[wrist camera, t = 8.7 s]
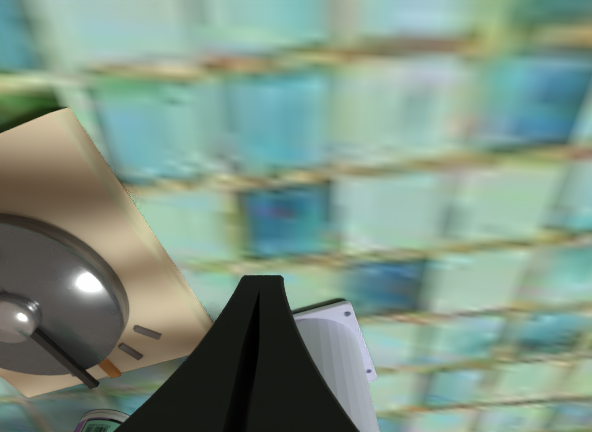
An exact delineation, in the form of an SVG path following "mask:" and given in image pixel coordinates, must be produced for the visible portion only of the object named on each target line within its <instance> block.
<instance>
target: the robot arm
mask: <svg viewBox="0 0 592 432" xmlns="http://www.w3.org/2000/svg"><path fill="white" fill-rule="evenodd" d="M347 311H348V312H347ZM345 312H347V313H345ZM376 379H377V375H376V371H375V369H374V366H373V363H372V360H371V358H370V355H369V352H368V349H367V347H366V344H365V341H364V338H363V335H362V333H361V330H360V327H359V324H358V322H357V319H356V316H355V313H354V310H353V308H352V305H351V303H350V302H348V301H342V302H338V303H334V304H330V305H327V306H323V307H319V308H316V309H312V310H308V311H305V312H301V313H297V314H293V315H292V312H291V309H290V306H289V303H288V300H287V296H286V292H285V288H284V278H283V277H282V276H281V275H244V276H243V277H242V278H241V280H240V282H239V284H238V286H237V288H236V289H235V291H234V293H233V295H232V296H231V298H230V300H229V301H228V303H227V305H226V306H225V308H224V309H223V311H222V312H221V314H220V315H219V317H218V318H217V320H216V321H215V323H214V324H213V325H212V327H211V328H210V329H209V331H208V332H207V333H206V335H205V336H204V337H203V339H202V340H201V341H200V343H199V344H198V345H197V347H196V348H195V349H194V350H193V351H192V353H191V354H190V355H189V356H188V357H187V359H186V360H185V361H184V362H183V363H182V364H181V365H180V367H179V368H178V369H177V370H176V371H175V372H174V373H173V374H172V375H171V376H170V377H169V379H168V380H167V381H166V382H165V383H164V384H163V385H162V386H161V387H160V388H159V389H158V390H157V391H156V392H155V393H154V394H153V395H152V396H151V397H150V398H149V399H148V400H147V401H146V402H145V403H144V404H143V405H142V406H141V407H139V408H138V409H137V410H136V411H135V412H134V413H133V414H132V415H131V416H130V417H128V418H127V419H126V420H125V421H124V422H123V423H122V424H121V425H120V426H118V427H117V428H116V429H115V430H114V431H113V432H380V431H379V427H378V423H377V418H376V414H375V410H374V405H373V401H372V397H371V393H370V388H369V384H368V382H372V381H375V380H376Z"/></svg>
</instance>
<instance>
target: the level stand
mask: <svg viewBox="0 0 592 432" xmlns="http://www.w3.org/2000/svg"><path fill="white" fill-rule="evenodd" d="M0 213H3V214H12V215H18V216H23V217H27V218H31V219H35V220H38V221H41V222H44V223H46V224H49V225H52V226H54V227H56V228H58V229H61V230H63V231H65V232H67V233H69V234H70V235H72V236H74V237H76V238H77V239H79V240H81V241H82V242H83V243H85V244H86V245H88V246H89V247H90V248H92V249H93V250H94V251H95V252H96V253H98V254H99V255H100V256H101V257H102V258H103V259H104V260H105V261H106V262H107V263H108V264H109V265H110V266H111V267H112V269H113V270H114V271H115V273H116V274H117V275H118V277H119V279H120V280H121V282H122V284H123V286H124V288H125V291H126V293H127V296H128V301H129V312H130V313H129V319H128V323H127V325H126V328H125V330H124V332H123V333H122V335H121V337H120V339H119V340H118V342H117V344H116V345H115V347H114V349H113V350H112V352H111V353H110V354H109V355H108V357H107V358H106V359H104V360H103V361H102V362H100V363H99V364H97V365H95V366H94V367H92V368H89V369H87V370H86V371H87V372H88V373H89V374H90V375H92V376H93V377H94V378H95V379H96V380H97V379H101V378H105V377H108V376H110V377H111V378H114V377H118V376H120V375H121V373H124V372H127V371H131V370H135V369H139V368H143V367H146V366H150V365H154V364H158V363H161V362H165V361H169V360H173V359H177V358H180V357H184V356H188V355H190V354H191V353H192V351H193V350H194V349H195V348H196V347H197V345H198V344H199V343H200V341H201V340H202V339H203V337H204V336H205V335H206V333H207V332H208V331H209V329H210V328H211V327H212V325H213V324H214V323H213V321H212V320H211V318H210V317H209V315H208V314H207V312H206V311H205V309H204V308H203V307H202V305H201V304H200V302H199V301H198V299H197V298H196V296H195V295H194V293H193V292H192V290H191V289H190V287H189V286H188V284H187V283H186V281H185V280H184V278H183V277H182V275H181V274H180V272H179V271H178V269H177V268H176V266H175V265H174V263H173V262H172V260H171V259H170V257H169V256H168V254H167V253H166V251H165V250H164V248H163V247H162V245H161V244H160V242H159V241H158V239H157V238H156V236H155V235H154V233H153V232H152V230H151V229H150V227H149V226H148V224H147V223H146V221H145V220H144V218H143V217H142V215H141V214H140V212H139V211H138V209H137V208H136V206H135V205H134V203H133V202H132V200H131V199H130V197H129V196H128V194H127V193H126V191H125V190H124V188H123V187H122V185H121V184H120V182H119V181H118V179H117V178H116V176H115V175H114V173H113V172H112V170H111V169H110V167H109V166H108V164H107V163H106V161H105V160H104V158H103V157H102V155H101V154H100V152H99V151H98V149H97V148H96V146H95V145H94V143H93V142H92V141H91V139H90V138H89V136H88V135H87V133H86V132H85V130H84V129H83V127H82V126H81V124H80V123H79V121H78V120H77V118H76V117H75V115H74V114H73V112H72V111H71V109H70V108H69V107H68V108H65V109H61V110H58V111H55V112H51V113H49V114H46V115H44V116H41V117H39V118H37V119H34V120H32V121H29V122H27V123H25V124H22V125H20V126H17V127H15V128H12V129H10V130H8V131H5V132H3V133H0ZM0 376H1V377H2V378H3V379H5V380H6V381H7V382H8V383H10V384H11V385H12V386H13V387H15V388H16V389H17V390H18V391H20V392H21V393H22V394H24V395H25V396H26V397H27V398H29V397H33V396H36V395H40V394H44V393H48V392H52V391H55V390H59V389H63V388H67V387H71V386H74V385H78V384H82V383H83V382H82V381H81V380H80V379H78V378H77V377H76V376H75V375H74V374H66V375H53V376H46V375H32V374H24V373H19V372H14V371H10V370H6V369H2V368H0Z"/></svg>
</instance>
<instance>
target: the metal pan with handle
mask: <svg viewBox="0 0 592 432" xmlns="http://www.w3.org/2000/svg"><path fill="white" fill-rule="evenodd" d="M129 313H130V312H129V301H128V296H127V293H126V291H125V288H124V286H123V284H122V282H121V280H120V279H119V277H118V275H117V274H116V273H115V271H114V270H113V269H112V267H111V266H110V265H109V264H108V263H107V262H106V261H105V260H104V259H103V258H102V257H101V256H100V255H99V254H98V253H96V252H95V251H94V250H93V249H92V248H90V247H89V246H88V245H86V244H85V243H83V242H82V241H81V240H79V239H77V238H76V237H74V236H72V235H70V234H69V233H67V232H65V231H63V230H61V229H58V228H56V227H54V226H52V225H49V224H46V223H44V222H41V221H38V220H35V219H31V218H27V217H23V216H18V215H12V214H3V213H0V368H2V369H6V370H10V371H14V372H19V373H24V374H32V375H46V376H53V375H66V374H74V375H75V376H76V377H77V378H78V379H80V380H81V381H82V382H83V383H84V384H85V385H87V386H88V387H89V388H90V389H91V388H95V387H98V385H99V382H98V381H97V380H96V379H95V378H94V377H93V376H92V375H90V374H89V373H88V372H87V371H86V370H87V369H89V368H92V367H94V366H95V365H97V364H99V363H100V362H102V361H103V360H104V359H106V358H107V357H108V355H109V354H110V353H111V352H112V350H113V349H114V347H115V345H116V344H117V342H118V340H119V339H120V337H121V335H122V333H123V332H124V330H125V328H126V325H127V323H128V319H129Z"/></svg>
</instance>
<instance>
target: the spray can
mask: <svg viewBox="0 0 592 432" xmlns="http://www.w3.org/2000/svg"><path fill="white" fill-rule="evenodd" d="M128 417H130V416H128V415H126V414H124V413H121V412H118V411H113V410H94V411H91V412H88V413H86V414H85V415H84V416H83V417H82V419H81V420H80V422H79V424H78V425H77V427H76V429H75V431H74V432H113V431H114V430H115V429H116V428H117V427H118V426H120V425H121V424H122V423H123V422H124V421H125V420H126V419H127V418H128Z"/></svg>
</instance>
